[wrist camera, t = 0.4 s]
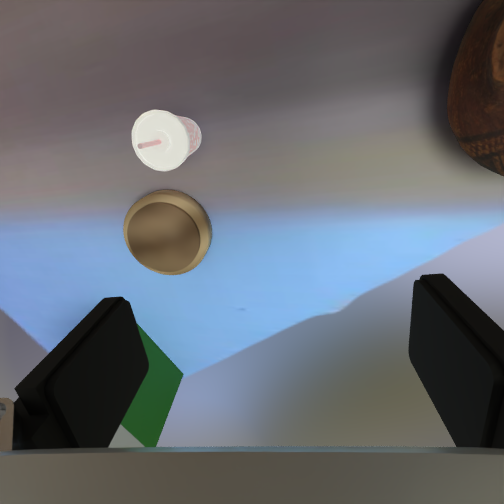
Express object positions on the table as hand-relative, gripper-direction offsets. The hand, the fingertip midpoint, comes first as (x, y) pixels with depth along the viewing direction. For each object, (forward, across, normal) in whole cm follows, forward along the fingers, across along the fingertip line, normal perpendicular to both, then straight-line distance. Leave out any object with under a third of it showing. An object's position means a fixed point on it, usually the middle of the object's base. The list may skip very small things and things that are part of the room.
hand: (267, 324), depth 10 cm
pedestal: (+34, +16, +7) cm, 38 cm away
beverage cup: (+34, +12, -6) cm, 37 cm away
